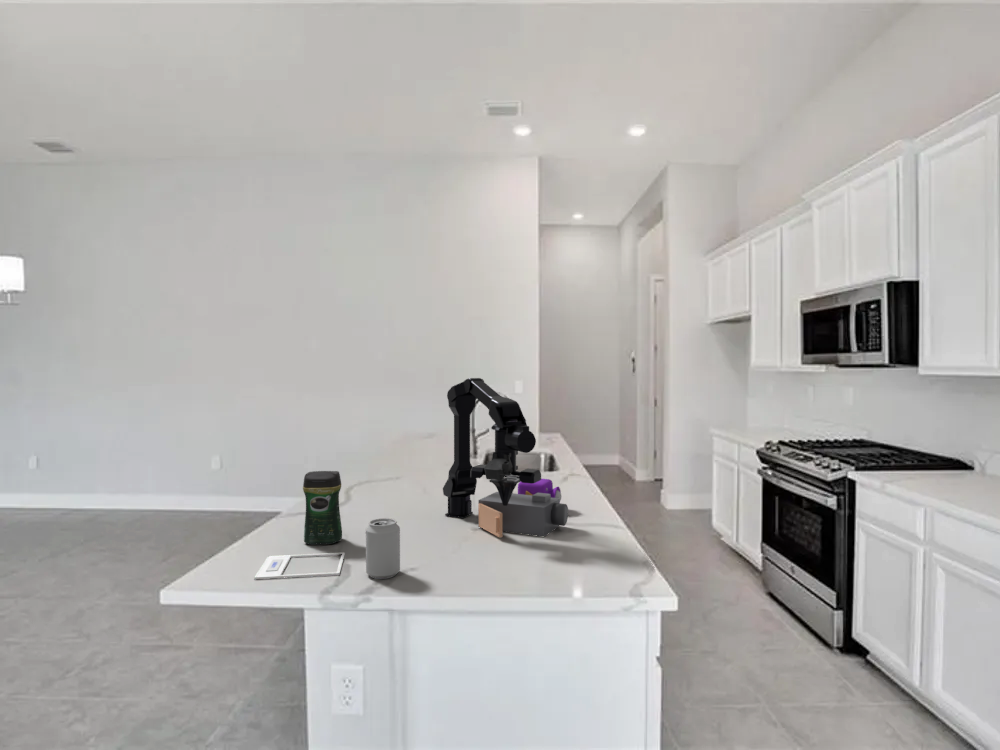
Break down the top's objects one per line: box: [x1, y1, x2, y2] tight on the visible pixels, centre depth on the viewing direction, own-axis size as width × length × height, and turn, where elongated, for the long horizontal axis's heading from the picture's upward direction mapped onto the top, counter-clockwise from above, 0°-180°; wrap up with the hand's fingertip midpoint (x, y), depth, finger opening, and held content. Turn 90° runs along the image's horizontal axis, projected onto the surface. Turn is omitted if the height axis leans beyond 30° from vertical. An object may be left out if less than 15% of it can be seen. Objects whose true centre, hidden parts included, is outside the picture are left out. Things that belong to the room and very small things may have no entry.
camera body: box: [477, 491, 569, 537], centre depth 174 cm, size 23×12×10 cm, turn 64°
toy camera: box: [517, 478, 562, 502], centre depth 194 cm, size 11×14×10 cm
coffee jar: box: [302, 470, 343, 546], centre depth 161 cm, size 10×8×19 cm
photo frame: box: [253, 552, 346, 581], centre depth 142 cm, size 15×1×18 cm
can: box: [365, 517, 401, 580], centre depth 137 cm, size 8×8×12 cm
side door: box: [479, 503, 503, 538], centre depth 167 cm, size 12×2×6 cm, turn 29°
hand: (505, 505), depth 165 cm, fingers closed
